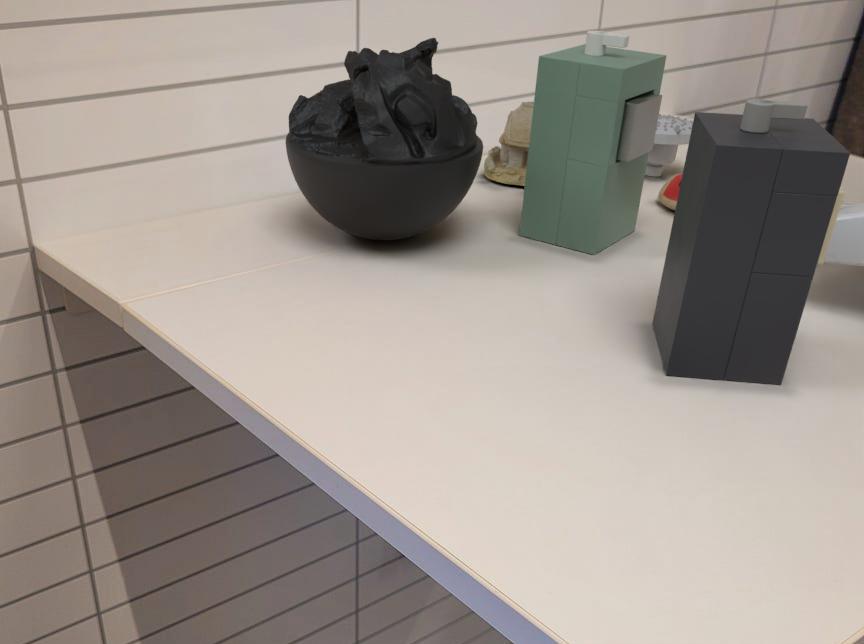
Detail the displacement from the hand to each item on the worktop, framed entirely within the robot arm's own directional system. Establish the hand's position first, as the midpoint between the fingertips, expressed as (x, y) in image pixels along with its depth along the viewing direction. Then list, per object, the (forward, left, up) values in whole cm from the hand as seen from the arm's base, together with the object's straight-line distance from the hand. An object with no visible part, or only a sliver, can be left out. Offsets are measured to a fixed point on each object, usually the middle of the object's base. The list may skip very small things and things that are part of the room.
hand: (816, 218), depth 94 cm
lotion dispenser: (+13, +22, -5) cm, 26 cm away
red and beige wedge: (+9, -17, -5) cm, 19 cm away
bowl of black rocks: (+44, -1, -5) cm, 44 cm away
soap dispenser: (+23, -6, -5) cm, 24 cm away
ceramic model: (+27, -25, -5) cm, 37 cm away
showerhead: (+12, -31, -5) cm, 33 cm away
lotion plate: (+8, +22, +4) cm, 24 cm away
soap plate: (+18, -3, +4) cm, 19 cm away
